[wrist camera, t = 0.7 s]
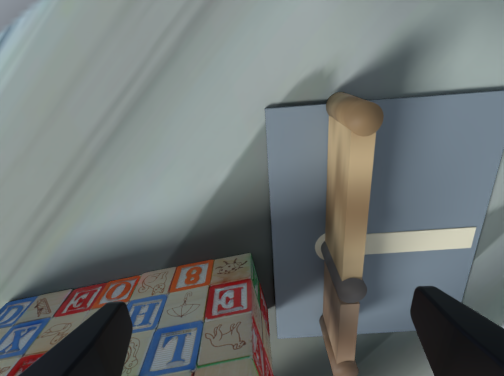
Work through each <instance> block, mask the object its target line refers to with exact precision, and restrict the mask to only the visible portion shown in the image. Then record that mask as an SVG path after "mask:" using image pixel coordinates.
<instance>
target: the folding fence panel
mask: <svg viewBox="0 0 504 376" xmlns="http://www.w3.org/2000/svg"><path fill="white" fill-rule="evenodd" d="M326 111H327V113H328V115H329V126H328V159H327V192H326V225H325V241H324V242H323V243H322V245H321V252H322V255H323V257H324V260H325V263H326V265H327V268H328V271H329V273H330V276H331V279H332V281H333V284H334V287H335V289H336V292H337V295H338V297H339V299H340V300H341V301H343V302H346V303H355V302H358V301H360V300H362V299H363V298H364V297H365V296H366V294H367V286H366V284H365V283H364V281H363V279H362V275H363V264H364V254H365V243H366V233H367V222H368V212H369V201H370V191H371V181H372V170H373V160H374V149H375V139H376V131H377V130H378V129H379V128H380V127H381V125H382V123H383V118H384V115H383V111H382V109H381V107H380V106H379V105H377V104H376V103H373V102H370V101H367V100H364V99H362V98H359V97H356V96H353V95H350V94H347V93H344V92H337V93H334V94H333V95H331V96H330V97H329V99H328V100H327V103H326Z"/></svg>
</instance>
